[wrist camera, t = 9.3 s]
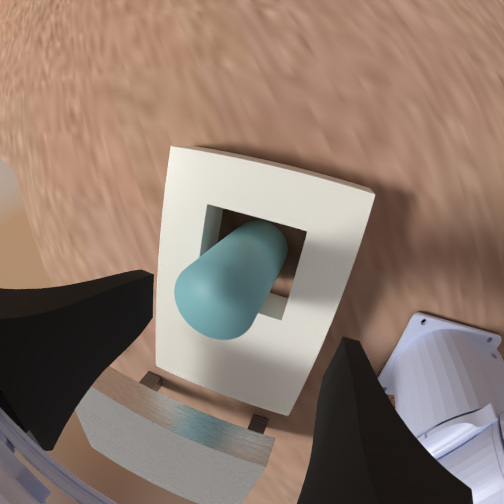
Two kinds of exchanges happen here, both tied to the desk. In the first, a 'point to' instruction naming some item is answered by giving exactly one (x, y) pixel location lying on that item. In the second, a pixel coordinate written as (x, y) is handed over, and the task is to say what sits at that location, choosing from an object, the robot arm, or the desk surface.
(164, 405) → the grey small table
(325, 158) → the desk surface
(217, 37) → the desk surface
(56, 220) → the desk surface
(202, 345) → the socket block
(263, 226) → the peg
